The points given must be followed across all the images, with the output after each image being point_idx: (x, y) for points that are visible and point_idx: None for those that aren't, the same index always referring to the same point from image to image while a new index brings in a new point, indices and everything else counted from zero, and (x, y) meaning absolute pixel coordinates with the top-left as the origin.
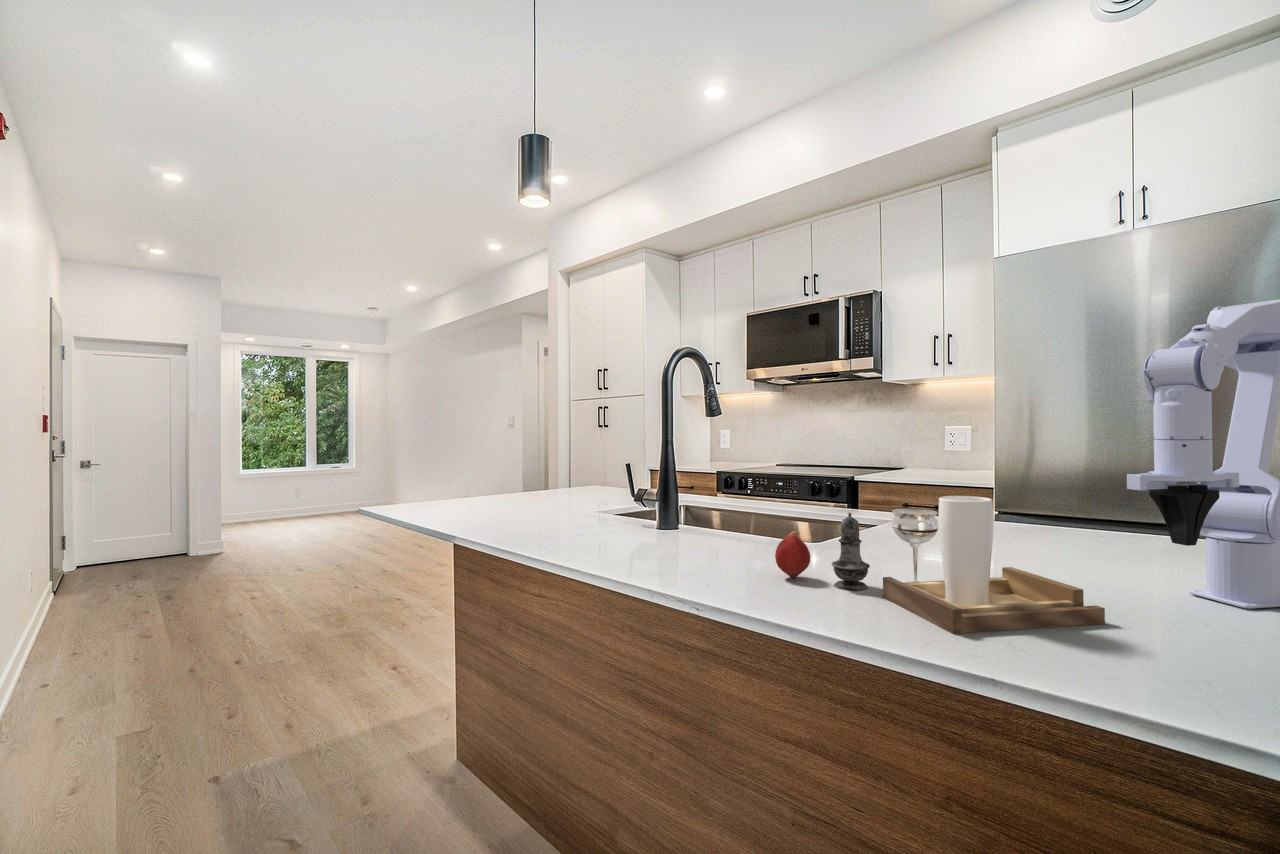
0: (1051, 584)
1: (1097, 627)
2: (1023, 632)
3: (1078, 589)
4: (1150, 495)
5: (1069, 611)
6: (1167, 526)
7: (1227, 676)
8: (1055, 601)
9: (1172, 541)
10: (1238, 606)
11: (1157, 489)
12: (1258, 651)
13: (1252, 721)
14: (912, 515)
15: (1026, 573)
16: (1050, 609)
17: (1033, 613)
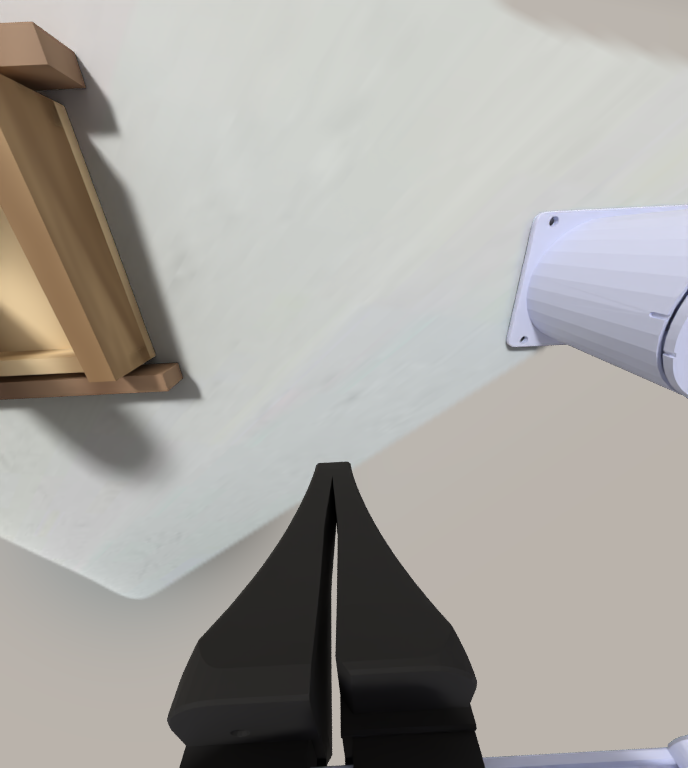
0: (60, 319)
1: None
2: None
3: (103, 380)
4: (199, 644)
5: (93, 394)
6: (303, 501)
7: (210, 529)
8: (72, 361)
9: (315, 469)
10: (509, 329)
11: (183, 741)
12: None
13: (159, 581)
14: None
15: (10, 192)
16: (55, 386)
17: (17, 397)
